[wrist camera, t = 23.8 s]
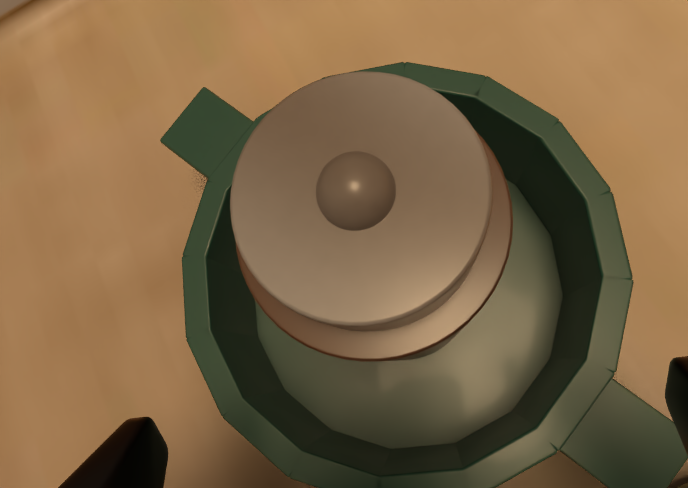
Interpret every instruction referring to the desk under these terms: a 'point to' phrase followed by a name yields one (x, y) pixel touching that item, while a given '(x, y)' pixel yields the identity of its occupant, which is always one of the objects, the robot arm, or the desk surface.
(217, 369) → the pot
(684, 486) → the lid
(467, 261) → the pepper mill
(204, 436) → the desk surface
